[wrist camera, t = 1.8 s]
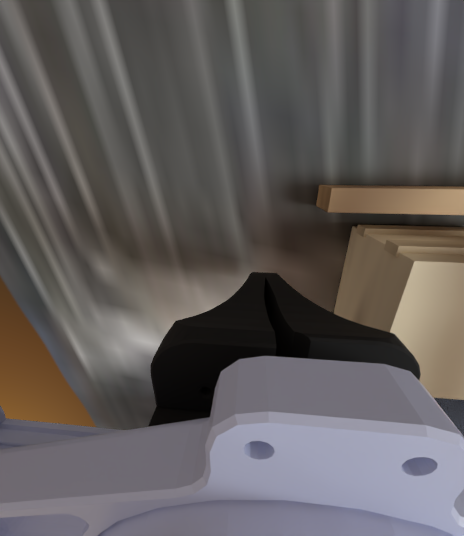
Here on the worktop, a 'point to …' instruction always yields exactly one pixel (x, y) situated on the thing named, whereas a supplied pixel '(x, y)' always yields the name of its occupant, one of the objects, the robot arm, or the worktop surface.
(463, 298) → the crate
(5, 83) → the worktop surface
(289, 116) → the worktop surface
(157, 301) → the worktop surface
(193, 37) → the worktop surface
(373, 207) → the bay
